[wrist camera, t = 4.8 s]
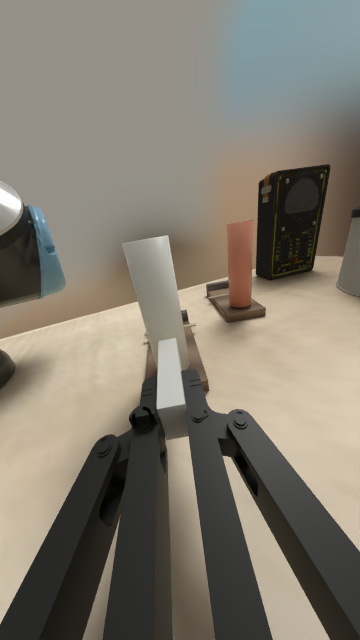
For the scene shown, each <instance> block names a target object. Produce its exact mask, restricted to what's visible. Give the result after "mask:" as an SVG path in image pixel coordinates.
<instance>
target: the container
mask: <svg viewBox="0 0 360 640" xmlns="http://www.w3.org/2000/svg"><path fill="white" fill-rule="evenodd" d="M351 217H352V218H353V220H352V225H351V229H350V233H349V237H348V241H347V245H346V250H345V254H344V258H343V262H342V266H341V270H340V274H339V278H338V281H337V283H336V286H337V288H339V289H340V290H341V291H343V292H346V293H348V294H351V295H354V296H358V297H360V207H358V208H356V209H353V210H352V214H351Z"/></svg>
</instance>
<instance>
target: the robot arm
mask: <svg viewBox="0 0 360 640" xmlns="http://www.w3.org/2000/svg"><path fill="white" fill-rule="evenodd" d="M65 284H66V282H65V277H64V274H63V271H62V268H61V265H60V262H59V259H58V256H57V253H56V250H55V246H54V244H53V241H52V237H51V234H50V231H49V228H48V225H47V222H46V220H45V217H44V214H43V212H42V210H41V209H40V208H38V207H32V206H30V205H29V206H26V207H25V206H24V204H23V202H22V200H21V199H20V197H19V196H18V195H17V193H16V192H15V190H14V189H13V188H11V187H10V186H9V185H7V184H5V183H4V182H2V181H0V308H2V307H6V306H10V305H14V304H18V303H23V302H27V301H31V300H35V299H41V298H43V297H44V296H47V295H50V294H54V293H57V292H59V291H61V290H62V289H63V288H64V287H65ZM15 368H16V365H15V363H14V362H13V360H12V359H11V358H10V356H9V355H8V354H7V353H6V352H4V351H2V350H1V349H0V387H1V386H2V385H3V384H4V383H5V382H6V381H7V380H8V379H9V378H10V377H11V376H12V374H13V373H14V371H15ZM129 420H130V423H131V425H132V427H133V428H132V429H130V430H129V431H128V432H126V433H124V434H122V435H120V436H118V437H116V436H115V435H112V434H111V435H106V436H104V437H102V438H101V439H99V440H98V441H97V442H96V444H95V445H94V447H93V448H92V450H91V452H90V454H89V456H88V458H87V460H86V462H85V463H84V465H83V467H82V469H81V471H80V473H79V475H78V477H77V479H76V481H75V483H74V484H73V486H72V488H71V490H70V492H69V494H68V496H67V498H66V500H65V502H64V504H63V505H62V507H61V509H60V511H59V513H58V515H57V517H56V519H55V521H54V523H53V525H52V526H51V528H50V530H49V532H48V534H47V536H46V538H45V540H44V542H43V544H42V546H41V547H40V549H39V551H38V553H37V555H36V557H35V559H34V561H33V563H32V565H31V567H30V568H29V570H28V572H27V574H26V576H25V578H24V580H23V582H22V584H21V586H20V588H19V590H18V591H17V593H16V595H15V597H14V599H13V601H12V603H11V605H10V607H9V609H8V611H7V612H6V614H5V616H4V618H3V620H2V622H1V624H0V640H82V639H83V635H84V632H85V629H86V626H87V622H88V619H89V616H90V612H91V609H92V606H93V603H94V599H95V596H96V593H97V590H98V586H99V583H100V580H101V576H102V573H103V570H104V567H105V563H106V560H107V557H108V553H109V550H110V547H111V544H112V540H113V537H114V534H115V531H116V527H117V524H118V521H119V517H120V523H119V530H118V537H117V544H116V550H115V557H114V564H113V571H112V578H111V585H110V592H109V599H108V606H107V613H106V620H105V627H104V633H103V640H173V635H172V600H171V566H170V531H169V496H168V462H167V448H166V445H165V437H166V440H170V439H175V438H181V437H186V436H189V442H190V450H191V458H192V465H193V473H194V480H195V488H196V495H197V503H198V510H199V518H200V525H201V533H202V540H203V548H204V555H205V563H206V571H207V578H208V586H209V593H210V601H211V608H212V616H213V623H214V631H215V638H216V640H273V639H272V636H271V632H270V628H269V625H268V621H267V617H266V614H265V610H264V606H263V603H262V599H261V595H260V592H259V588H258V584H257V581H256V577H255V573H254V570H253V566H252V562H251V559H250V555H249V551H248V548H247V544H246V541H245V537H244V533H243V530H242V526H241V522H240V519H239V515H238V511H237V508H236V504H235V500H234V497H233V493H232V489H231V486H230V482H229V478H228V475H227V471H226V467H225V464H224V460H223V457H222V455H223V456H228V457H231V458H232V460H233V462H234V464H235V466H236V468H237V469H238V471H239V473H240V475H241V477H242V479H243V480H244V482H245V484H246V486H247V488H248V490H249V491H250V493H251V495H252V497H253V499H254V501H255V502H256V504H257V506H258V508H259V510H260V512H261V513H262V515H263V517H264V519H265V521H266V523H267V524H268V526H269V528H270V530H271V532H272V534H273V535H274V537H275V539H276V541H277V543H278V545H279V546H280V548H281V550H282V552H283V554H284V556H285V557H286V559H287V561H288V563H289V565H290V567H291V568H292V570H293V572H294V574H295V576H296V578H297V579H298V581H299V583H300V585H301V587H302V589H303V590H304V592H305V594H306V596H307V598H308V600H309V601H310V603H311V605H312V607H313V609H314V611H315V612H316V614H317V616H318V618H319V620H320V622H321V623H322V625H323V627H324V629H325V631H326V633H327V634H328V636H329V638H330V640H360V552H359V550H358V549H357V548H356V547H355V545H354V544H353V543H352V541H351V540H350V539H349V538H348V536H347V535H346V534H345V533H344V531H343V530H342V529H341V528H340V526H339V525H338V524H337V523H336V521H335V520H334V519H333V518H332V516H331V515H330V514H329V513H328V511H327V510H326V509H325V508H324V506H323V505H322V504H321V503H320V501H319V500H318V499H317V498H316V496H315V495H314V494H313V493H312V491H311V490H310V489H309V487H308V486H307V485H306V484H305V482H304V481H303V480H302V479H301V477H300V476H299V475H298V474H297V472H296V471H295V470H294V469H293V467H292V466H291V465H290V464H289V462H288V461H287V460H286V459H285V457H284V456H283V455H282V454H281V452H280V451H279V450H278V449H277V447H276V446H275V445H274V444H273V442H272V441H271V440H270V439H269V437H268V436H267V435H266V434H265V432H264V431H263V430H262V428H261V427H260V426H259V425H258V423H257V422H256V421H255V420H254V418H253V417H252V416H251V415H250V414H249V413H248V412H246V411H244V410H240V409H235V410H232V411H231V412H229V414H221V413H217V412H214V411H213V410H211V409H210V408H209V406H208V404H207V401H206V398H205V394H204V390H203V387H202V383H201V380H200V376H199V373H198V372H197V371H196V369H189V370H184V371H182V368H181V361H180V356H179V351H178V346H177V341H176V338H172V339H167V340H162V341H158V376H155V377H150V378H146V379H145V381H144V383H143V384H142V392H141V400H140V406H138V407H137V408H135V409H134V410H133V411H132V413H131V414H130V416H129ZM120 514H121V516H120Z"/></svg>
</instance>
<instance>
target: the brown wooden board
mask: <svg viewBox="0 0 360 640" xmlns="http://www.w3.org/2000/svg"><path fill="white" fill-rule="evenodd" d="M181 314H182V320H183V326H184V332H185V338H186V344H187V350H188V355H189V361H190V365H189V368H188V369H187V370H189V369H196V371H197V372H198V373H199V376H200V380H201V383H202V387H203V390H204V391H208V390H209V386H208V379H207V376H206V373H205V370H204V367H203V364H202V361H201V358H200V355H199V351H198V348H197V345H196V342H195V339H194V336H193V333H192V330H191V327H192V326H196V324H195V323H194V324H189V321H188V315H187V311H186V310H183V311H181ZM144 335H147V332H146V333H145V334H144ZM155 376H158V370H157V367H156V363H155V360H154V356H153V353H152V349H151V346H150V342H149V350H148V359H147V368H146V377H145V379H146V378H150V377H155Z"/></svg>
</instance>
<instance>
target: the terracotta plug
mask: <svg viewBox="0 0 360 640" xmlns="http://www.w3.org/2000/svg"><path fill="white" fill-rule="evenodd" d="M252 241H253V220H250V221H244V222H239V223H233V224H227V249H228V277H229V304H230V306H232V307H238V308H240V307H247V306H249V305H251V287H252Z"/></svg>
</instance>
